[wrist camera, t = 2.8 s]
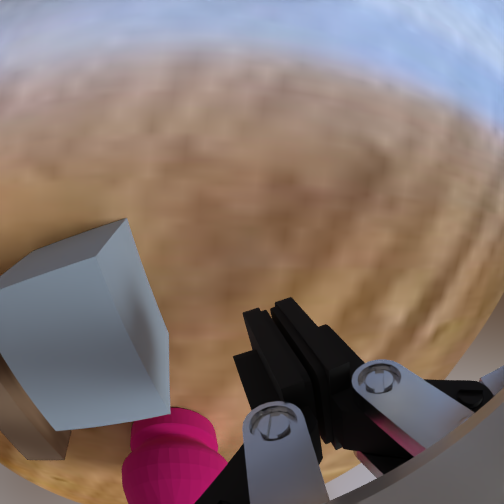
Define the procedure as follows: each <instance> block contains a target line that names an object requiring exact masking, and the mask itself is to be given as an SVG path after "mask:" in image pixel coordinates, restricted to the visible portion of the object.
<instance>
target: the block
mask: <svg viewBox="0 0 504 504" xmlns="http://www.w3.org/2000/svg"><path fill="white" fill-rule="evenodd" d="M0 353H1V355H2V357H3V358H4V360H5V362H6V363H7V365H8V366H9V368H10V370H11V371H12V373H13V374H14V376H15V377H16V379H17V380H18V382H19V383H20V385H21V386H22V388H23V389H24V390H25V392H26V393H27V395H28V396H29V397H30V399H31V400H32V402H33V403H34V404H35V406H36V407H37V408H38V410H39V411H40V412H41V413H42V415H43V416H44V417H45V419H46V420H47V421H48V422H49V423H50V425H51V426H52V427H53V428H54V429H55V431H63V430H73V429H83V428H91V427H99V426H106V425H113V424H119V423H125V422H131V421H137V420H142V419H147V418H153V417H158V416H162V415H167V414H171V412H170V385H169V333H168V331H167V328H166V326H165V323H164V321H163V319H162V316H161V314H160V311H159V309H158V306H157V303H156V301H155V298H154V296H153V293H152V290H151V288H150V285H149V282H148V279H147V277H146V274H145V271H144V268H143V265H142V263H141V260H140V257H139V254H138V251H137V248H136V245H135V242H134V239H133V236H132V233H131V230H130V226H129V223H128V220H127V218H125V219H122V220H119V221H116V222H113V223H110V224H107V225H104V226H101V227H98V228H95V229H92V230H89V231H86V232H83V233H80V234H78V235H75V236H72V237H69V238H66V239H64V240H61V241H58V242H55V243H53V244H50V245H47V246H45V247H42V248H39V249H37V250H34V251H32V252H31V253H30V254H28V255H27V256H26V257H24V258H23V259H22V260H20V261H19V262H18V263H16V264H15V265H14V266H13V267H11V268H10V269H9V270H7V271H6V272H5V273H4V274H2V275H1V276H0Z"/></svg>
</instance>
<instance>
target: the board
mask: <svg viewBox="0 0 504 504" xmlns="http://www.w3.org/2000/svg"><path fill="white" fill-rule="evenodd" d="M0 431H1V432H2V433H3V434H4V435H5V437H6V438H7V439H8V440H9V441H10V442H11V443H12V444H13V445H14V446H15V448H16V449H17V450H18V451H19V452H20V453H21V454H22V455H23V456H24V457H25V458H26V459H27V460H65V456H66V451H67V447H68V443H69V438H70V434H71V431H70V430H63V431H55V429H54V428H53V427H52V426H51V425H50V423H49V422H48V421H47V420H46V419H45V417H44V416H43V415H42V413H41V412H40V411H39V410H38V408H37V407H36V406H35V404H34V403H33V402H32V400H31V399H30V397H29V396H28V395H27V393H26V392H25V390H24V389H23V388H22V386H21V385H20V383H19V382H18V380H17V379H16V377H15V376H14V374H13V373H12V371H11V370H10V368H9V366H8V365H7V363H6V362H5V360H4V358H3V357H2V355H1V353H0Z"/></svg>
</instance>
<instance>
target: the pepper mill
mask: <svg viewBox="0 0 504 504" xmlns="http://www.w3.org/2000/svg"><path fill="white" fill-rule="evenodd" d="M170 412H171V414H167V415H162V416H158V417H153V418H147V419H142V420H137V421H134V423H133V425H132V429H131V442H130V446H131V451H132V452H131V453H130V454H129V455H128V457H127V458H126V459H125V461H124V463H123V466H122V484H123V489H124V492H125V495H126V499H127V501H128V503H129V504H194V503H195V502H196V501H197V500H198V499H199V497H200V496H201V495H202V494H203V493H204V492H205V490H206V489H207V488H208V487H209V486H210V485H211V483H212V482H213V481H214V480H215V479H216V477H217V476H218V475H219V474H220V473H221V471H222V470H223V469H224V468H225V466H226V465H227V464H228V463H227V461H226V460H225V459H224V458H223V457H222V456H221V455H220V454H219V453H217V451H218V444H217V439H216V434H215V430H214V427H213V425H212V424H211V422H210V421H209V420H208V419H207V418H205V417H204V416H202V415H200V414H199V413H197V412H194V411H191V410H187V409H183V408H171V407H170Z"/></svg>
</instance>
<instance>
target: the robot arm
mask: <svg viewBox="0 0 504 504" xmlns="http://www.w3.org/2000/svg"><path fill="white" fill-rule="evenodd" d="M270 310H271V315H272V318H271V316H270V315H269V313H268V312H267V310H264V311H260V309H259V308H256V309H253V310H250V311H246V312H243V317H244V321H245V324H246V328H247V332H248V335H249V339H250V342H251V346H252V349H253V350H251V351H248V352H245V353H242V354H239V355H235V356H233V358H234V361H235V364H236V367H237V370H238V373H239V376H240V379H241V382H242V385H243V387H244V390H245V393H246V396H247V399H248V402H249V404H250V407H251V410H252V411H251V412H250V413H249V414H248V415H247V416H246V418H245V420H244V422H243V439H244V443H243V445H242V446H241V447H240V449H239V450H238V451H237V452H236V454H235V455H234V456H233V458H232V459H231V460H230V461H229V463H228V464H227V465H226V466H225V468H224V469H223V470H222V471H221V473H220V474H219V475H218V476H217V477H216V479H215V480H214V481H213V482H212V483H211V485H210V486H209V487H208V488H207V489H206V490H205V492H204V493H203V494H202V495H201V496H200V497H199V499H198V500H197V501H196V502H195V503H194V504H504V366H502V367H500V368H498V369H497V370H495V371H493V372H491V373H489V374H487V375H485V376H483V377H481V378H480V380H479V382H477V381H464V380H463V381H461V380H456V381H454V380H426V379H422V378H420V377H419V376H417V375H415V374H414V373H412V372H411V371H409V370H408V369H406V368H405V367H403V366H402V365H400V364H398V363H396V362H394V361H390V360H374V361H370V362H367V363H364V362H363V361H362V360H361V359H360V358H359V357H358V356H357V355H356V353H355V352H354V351H353V350H352V349H351V348H350V347H349V346H348V345H347V344H346V343H345V342H344V341H343V340H342V339H341V338H340V337H339V336H338V335H337V334H336V333H335V332H334V331H333V330H332V329H331V328H330V327H329V326H328V325H326V324H325V325H322V326H320V327H318V326H317V325H316V324H315V323H314V322H313V321H312V320H311V319H310V317H309V316H308V315H307V314H306V313H305V312H304V311H303V310H302V308H301V307H300V306H299V305H298V304H297V303H296V302H295V301H294V300H293V298H291V297H290V298H287V299H284V300H281V301H277V302H275V307H273V308H271V309H270ZM320 436H321V438H322V440H323V441H324V443H325V444H328V443H330V442H331V443H332V445H333V446H334V448H335V450H337V449H340V448H342V447H343V449H347V450H353V452H354V454H355V456H356V457H357V459H358V460H359V461H360V462H361V463H362V464H363V465H364V466H365V467H366V468H367V469H368V470H369V471H370V472H371V473H372V474H373V475H374V476H375V477H376V478H377V479H375V480H373V481H371V482H369V483H367V484H365V485H363V486H361V487H359V488H357V489H355V490H353V491H351V492H349V493H346V494H344V495H342V496H340V497H337V498H335V499H333V500H329V497H328V493H327V490H326V487H325V484H324V480H323V477H322V474H321V471H320V467H319V464H320V462H321V460H322V458H323V456H322V448H321V441H320Z"/></svg>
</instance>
